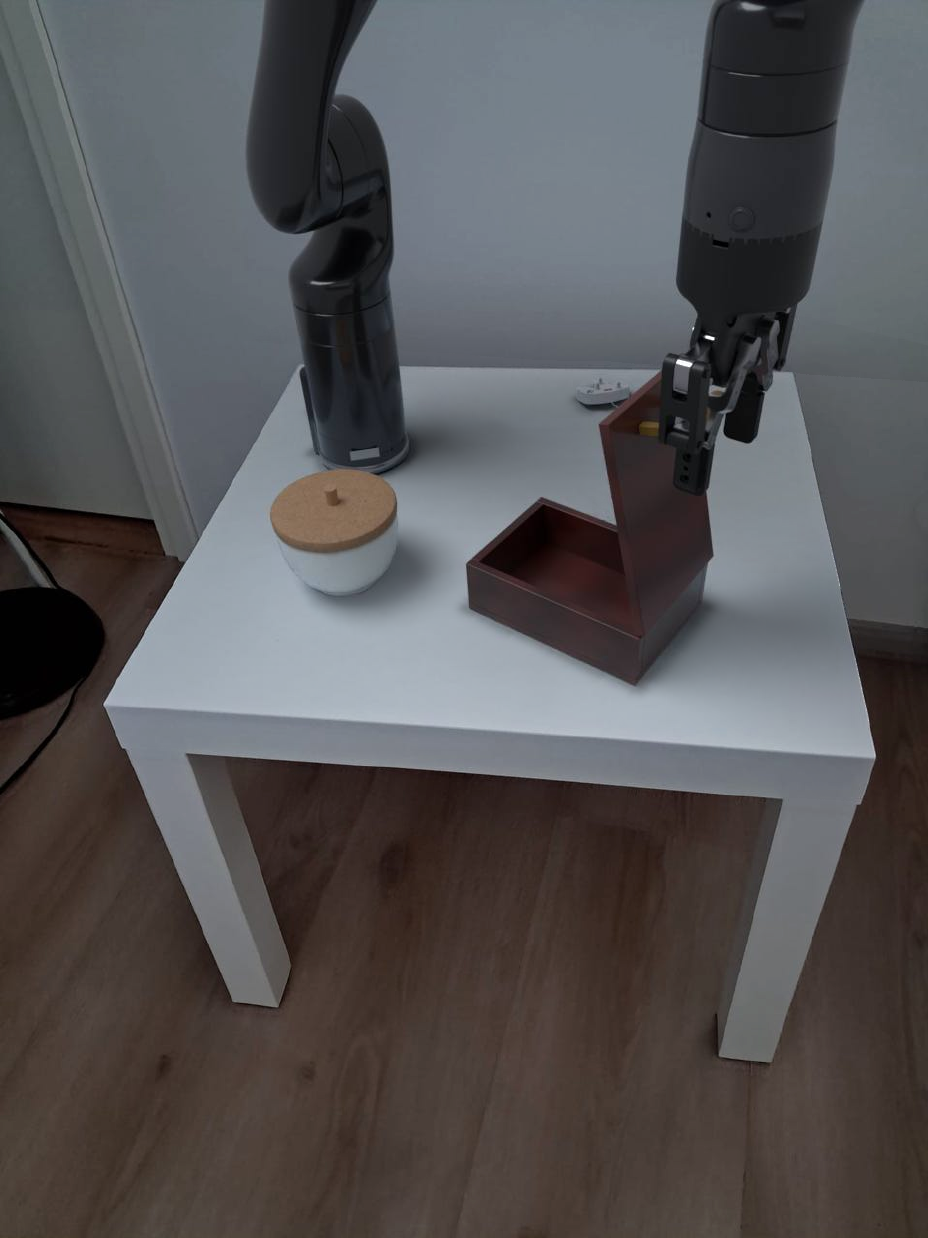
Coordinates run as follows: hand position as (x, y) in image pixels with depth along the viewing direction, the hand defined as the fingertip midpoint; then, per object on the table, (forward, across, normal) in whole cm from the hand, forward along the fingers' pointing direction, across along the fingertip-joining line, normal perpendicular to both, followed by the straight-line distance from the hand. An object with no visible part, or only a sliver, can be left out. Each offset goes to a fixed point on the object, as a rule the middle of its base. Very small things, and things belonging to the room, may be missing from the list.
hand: (715, 463), depth 62 cm
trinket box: (+18, +8, -30) cm, 36 cm away
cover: (+4, 0, -4) cm, 6 cm away
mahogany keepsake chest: (+18, 0, -10) cm, 20 cm away
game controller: (+18, -28, -24) cm, 41 cm away
